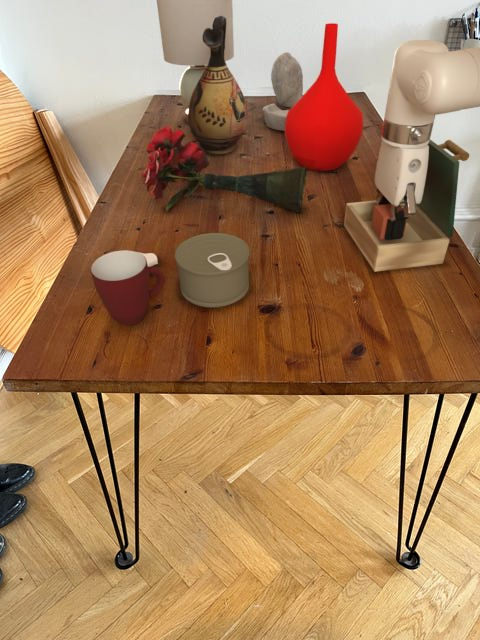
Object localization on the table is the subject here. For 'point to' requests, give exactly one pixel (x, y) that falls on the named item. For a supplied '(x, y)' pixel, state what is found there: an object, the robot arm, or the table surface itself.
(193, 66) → the lamp
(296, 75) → the decorative stone
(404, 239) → the cream open box
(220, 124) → the ceramic jug
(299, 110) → the vase
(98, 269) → the mug
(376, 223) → the block
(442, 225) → the cover
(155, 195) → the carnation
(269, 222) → the table surface
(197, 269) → the can
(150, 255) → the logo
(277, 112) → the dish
